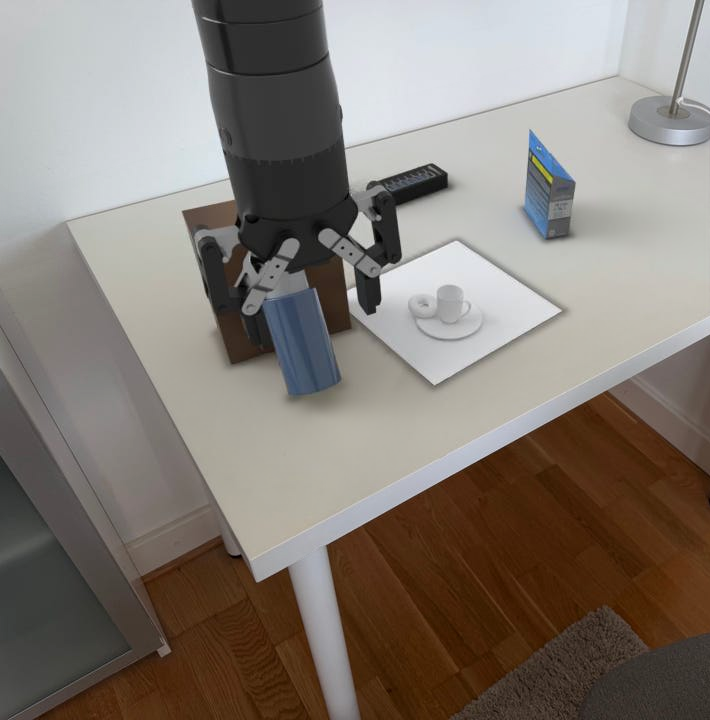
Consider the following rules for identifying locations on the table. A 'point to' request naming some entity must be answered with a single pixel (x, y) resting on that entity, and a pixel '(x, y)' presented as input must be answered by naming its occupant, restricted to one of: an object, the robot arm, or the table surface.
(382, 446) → the table surface
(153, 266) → the table surface
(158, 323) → the table surface
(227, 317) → the walnut block
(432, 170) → the multiport hub
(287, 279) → the blue cylinder
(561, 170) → the blue grey carton
